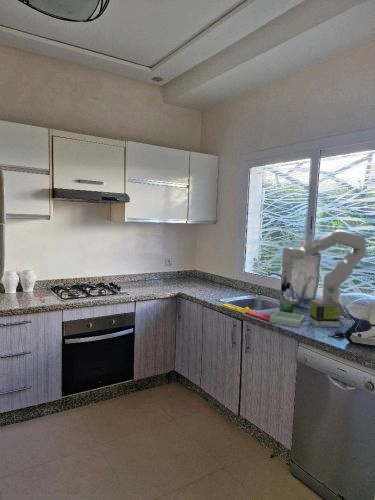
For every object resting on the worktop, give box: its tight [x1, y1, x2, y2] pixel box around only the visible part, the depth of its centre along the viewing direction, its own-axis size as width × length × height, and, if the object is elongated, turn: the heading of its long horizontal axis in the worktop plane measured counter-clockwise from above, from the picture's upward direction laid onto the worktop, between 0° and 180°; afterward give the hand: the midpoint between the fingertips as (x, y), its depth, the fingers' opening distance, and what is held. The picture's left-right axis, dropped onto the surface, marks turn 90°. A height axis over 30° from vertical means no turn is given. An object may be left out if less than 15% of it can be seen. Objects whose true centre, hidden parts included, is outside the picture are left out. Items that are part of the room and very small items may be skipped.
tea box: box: [309, 299, 341, 328], centre depth 219 cm, size 15×10×15 cm, turn 92°
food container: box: [278, 297, 297, 314], centre depth 241 cm, size 12×6×10 cm, turn 40°
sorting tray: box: [268, 310, 306, 329], centre depth 222 cm, size 18×18×4 cm
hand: (285, 290), depth 240 cm, fingers open, 9 cm apart
